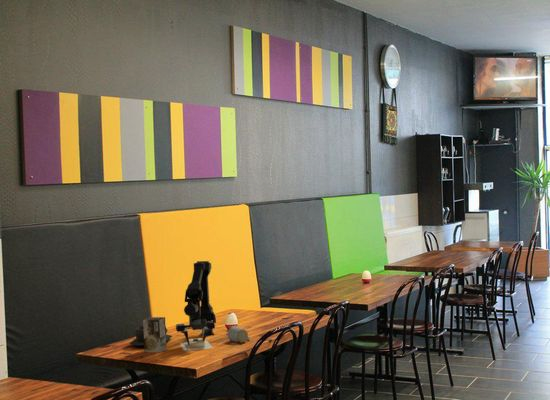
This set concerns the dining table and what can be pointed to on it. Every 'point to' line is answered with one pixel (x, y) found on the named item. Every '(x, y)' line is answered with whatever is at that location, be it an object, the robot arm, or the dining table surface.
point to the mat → (186, 348)
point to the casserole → (140, 336)
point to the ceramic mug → (238, 334)
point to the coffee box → (154, 334)
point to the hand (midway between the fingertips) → (195, 343)
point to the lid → (196, 343)
